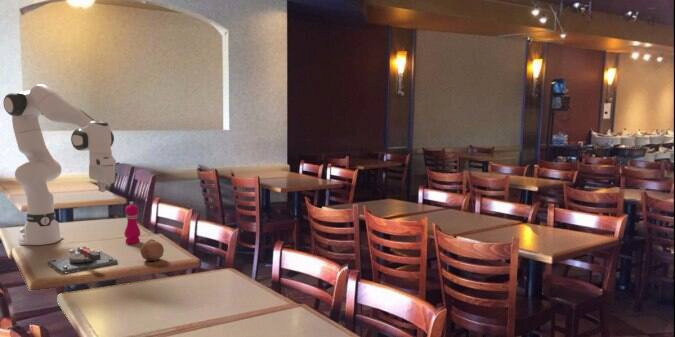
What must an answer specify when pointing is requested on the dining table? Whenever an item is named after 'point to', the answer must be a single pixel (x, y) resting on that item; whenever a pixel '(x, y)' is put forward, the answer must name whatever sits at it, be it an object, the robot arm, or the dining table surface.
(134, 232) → the pepper mill
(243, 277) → the dining table surface
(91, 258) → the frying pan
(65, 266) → the flange plate
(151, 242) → the onion
